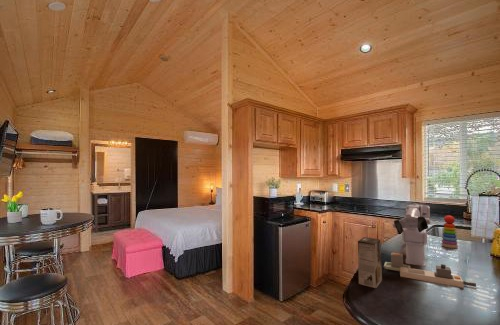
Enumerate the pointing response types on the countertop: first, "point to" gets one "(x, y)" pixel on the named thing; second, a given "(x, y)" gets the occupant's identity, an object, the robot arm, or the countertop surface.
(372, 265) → the coffee box
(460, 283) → the power strip
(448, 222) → the stacking toy
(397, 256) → the plug
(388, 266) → the tray
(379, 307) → the countertop surface
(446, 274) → the seated twin plug
